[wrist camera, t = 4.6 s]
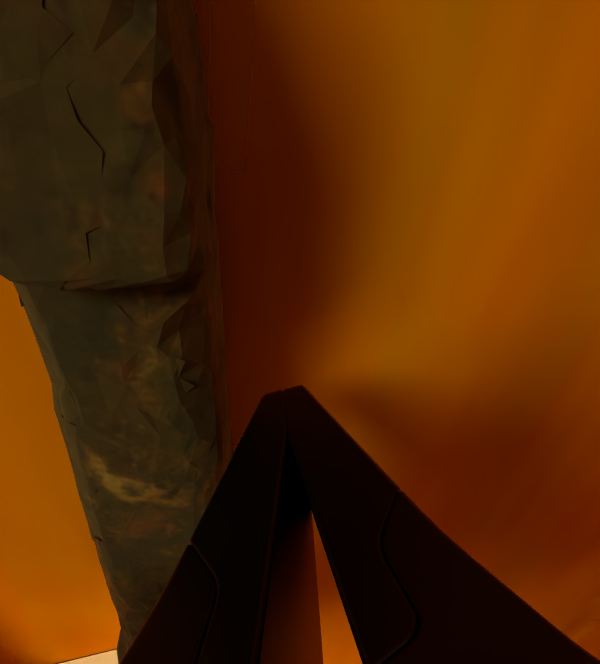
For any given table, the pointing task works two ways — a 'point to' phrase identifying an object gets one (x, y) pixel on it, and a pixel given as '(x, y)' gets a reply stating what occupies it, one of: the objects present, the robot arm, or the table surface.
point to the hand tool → (119, 267)
